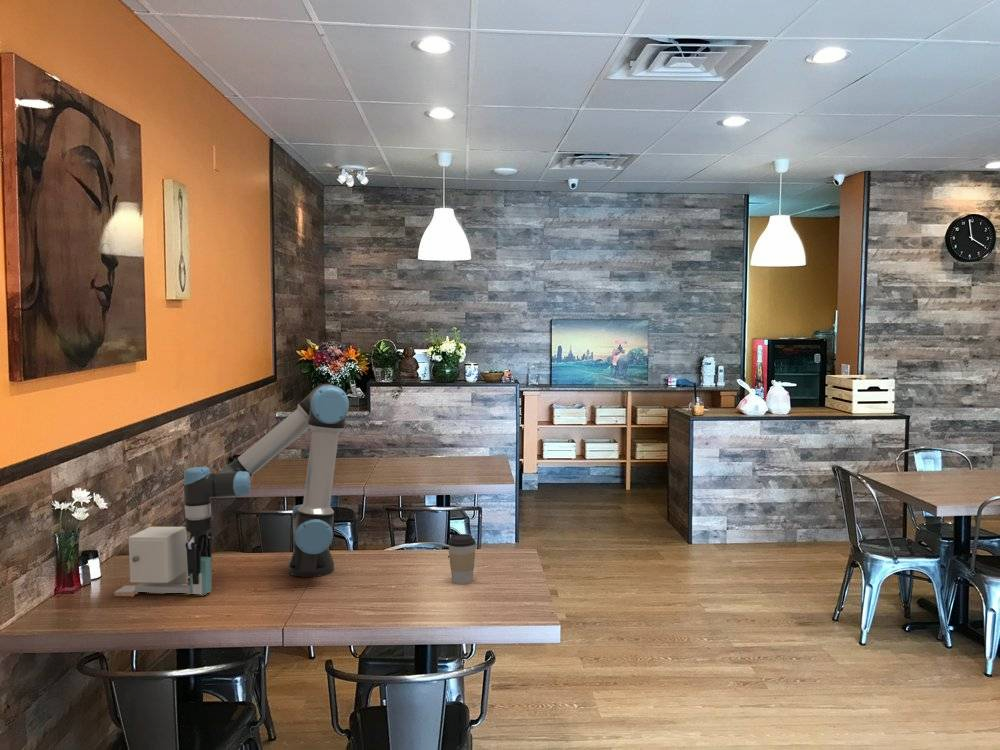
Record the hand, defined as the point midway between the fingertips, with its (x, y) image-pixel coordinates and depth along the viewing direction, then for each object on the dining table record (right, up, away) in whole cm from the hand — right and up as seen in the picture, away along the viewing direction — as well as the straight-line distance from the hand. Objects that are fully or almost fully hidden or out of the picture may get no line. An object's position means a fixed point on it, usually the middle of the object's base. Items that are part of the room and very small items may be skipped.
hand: (200, 591), depth 244 cm
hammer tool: (-9, -1, +1) cm, 9 cm away
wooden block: (-23, -2, +2) cm, 24 cm away
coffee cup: (+81, 0, +10) cm, 82 cm away
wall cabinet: (-14, -1, +2) cm, 14 cm away
